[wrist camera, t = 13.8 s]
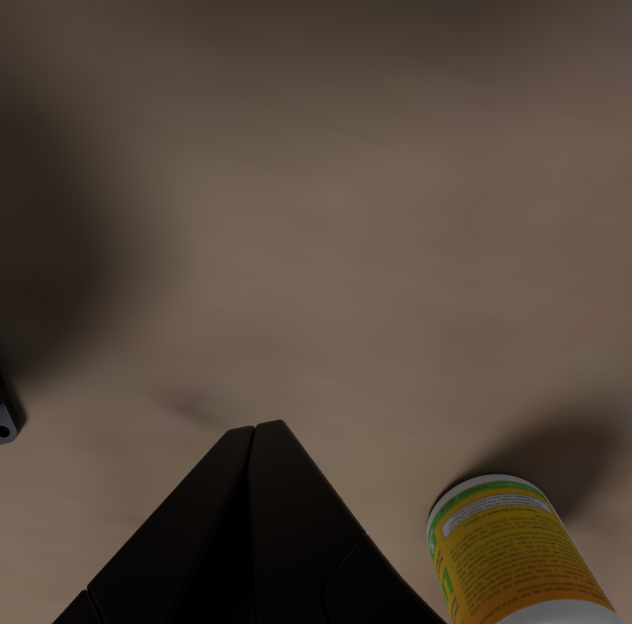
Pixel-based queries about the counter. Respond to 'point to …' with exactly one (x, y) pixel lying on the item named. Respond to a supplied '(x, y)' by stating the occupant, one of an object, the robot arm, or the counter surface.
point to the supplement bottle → (511, 558)
